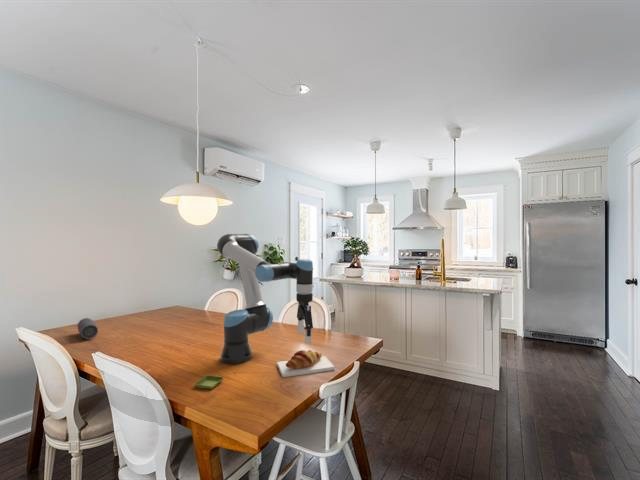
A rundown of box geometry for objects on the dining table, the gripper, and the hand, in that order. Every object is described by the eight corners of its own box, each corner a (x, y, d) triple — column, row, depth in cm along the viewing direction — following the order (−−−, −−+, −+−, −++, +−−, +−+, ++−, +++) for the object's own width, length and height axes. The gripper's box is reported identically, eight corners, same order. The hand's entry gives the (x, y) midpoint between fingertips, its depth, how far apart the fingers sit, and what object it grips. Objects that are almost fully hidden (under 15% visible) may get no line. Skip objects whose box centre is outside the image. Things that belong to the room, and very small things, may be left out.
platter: (282, 377, 137) (282, 373, 137) (277, 365, 151) (277, 362, 151) (334, 370, 144) (334, 366, 144) (325, 359, 158) (325, 356, 158)
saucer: (212, 391, 126) (212, 386, 126) (193, 389, 128) (193, 384, 128) (224, 382, 134) (224, 377, 134) (206, 379, 136) (206, 374, 136)
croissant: (317, 363, 157) (312, 347, 159) (330, 358, 150) (324, 342, 153) (282, 375, 142) (278, 357, 145) (295, 371, 136) (290, 352, 138)
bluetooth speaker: (76, 334, 205) (76, 318, 205) (94, 331, 211) (93, 316, 211) (79, 342, 188) (79, 325, 188) (99, 339, 194) (98, 322, 194)
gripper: (320, 297, 137) (319, 346, 137) (305, 288, 160) (305, 329, 161) (303, 298, 134) (303, 348, 135) (290, 288, 158) (290, 331, 159)
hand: (304, 338), depth 148 cm, fingers open, 13 cm apart
